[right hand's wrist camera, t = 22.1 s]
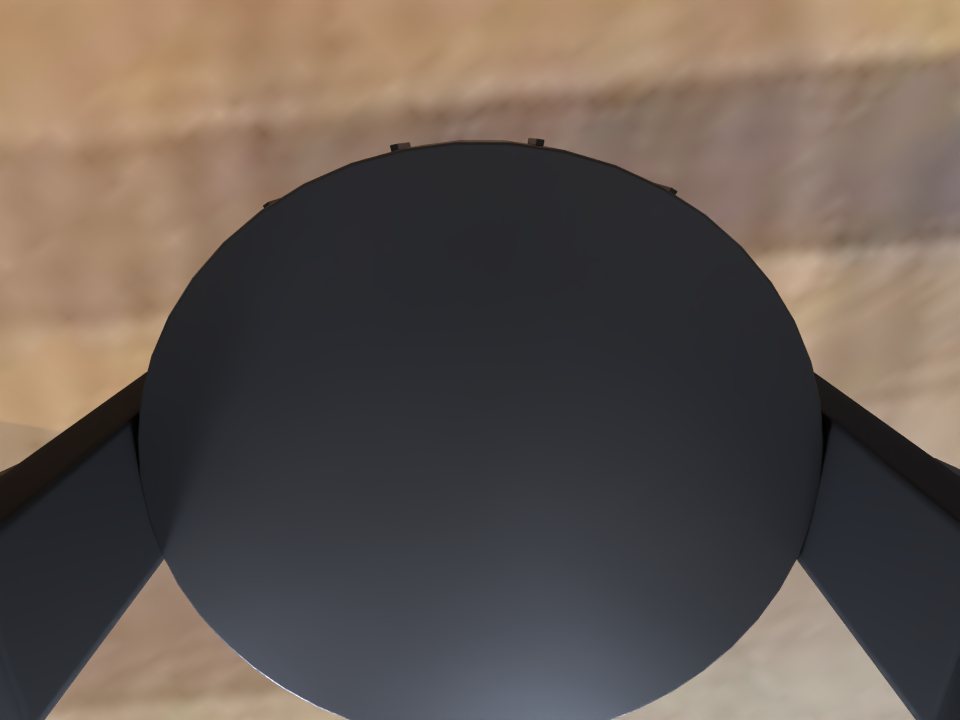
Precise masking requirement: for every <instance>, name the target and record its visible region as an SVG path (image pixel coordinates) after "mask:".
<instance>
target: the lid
mask: <svg viewBox="0 0 960 720" xmlns="http://www.w3.org/2000/svg"><path fill="white" fill-rule="evenodd" d="M543 145H544V140H542V139H534V138H528V144H525V143H519V142H512V141H505V140H458V141H451V142H443V143H435V144H428V145H420V146H414V147H411V146H410V143H409V142H408V143H400V144H394V145H390V148H391V152H389V153H386V154H382V155H378V156H375V157H371V158H367V159H364V160H360V161H357V162H353V163H350V164H348V165H346V166H343V167H341V168H339V169H336V170H334V171H332V172H330V173H327V174H325V175H323V176H320V177H318V178H316V179H314V180H311V181H309V182H307V183H304V184H303V185H301V186H299V187H298V188H296V189H295V190H293V191H291V192H290V193H288V194H287V195H285V196H283V197H282V198H279V199H276V200H273V201H270V202H267V203H266V204H265V205H263V207H264V209H262V210H261V211H260V212H258V213H257V214H256V215H255V216H254V217H253V218H251V219H250V220H249V221H248V222H247V223H246V224H244V225H243V226H242V227H241V228H240V229H238V230H237V231H236V232H235V233H234V234H233V235H231V236H230V237H229V238H228V239H227V240H226V241H224V242H223V243H222V245H221V246H220V247H219V248H218V249H217V250H216V251H215V253H214V254H213V255H212V256H211V257H210V258H209V260H208V261H207V262H206V263H205V264H204V265H203V266H202V268H201V269H200V270H199V271H198V272H197V273H196V275H195V276H194V277H193V278H192V280H191V281H190V283H189V284H188V286H187V288H186V289H185V291H184V292H183V294H182V296H181V297H180V299H179V300H178V302H177V304H176V305H175V307H174V308H173V310H172V311H171V313H170V315H169V316H168V319H167V321H166V323H165V326H164V328H163V330H162V333H161V335H160V337H159V340H158V342H157V344H156V347H155V349H154V351H153V354H152V356H151V360H150V364H149V368H148V372H147V376H146V380H145V384H144V388H143V392H142V396H141V403H140V414H139V425H138V435H137V443H138V459H139V476H140V481H141V485H142V490H143V494H144V499H145V504H146V508H147V513H148V517H149V521H150V524H151V526H152V529H153V532H154V535H155V537H156V540H157V543H158V546H159V548H160V551H161V553H162V555H163V557H164V559H165V561H166V563H167V564H168V566H169V568H170V570H171V572H172V574H173V576H174V578H175V580H176V581H177V583H178V585H179V587H180V588H181V589H182V591H183V592H184V594H185V595H186V596H187V598H188V599H189V601H190V602H191V604H192V605H193V606H194V608H195V609H196V611H197V612H198V613H199V615H200V616H201V617H202V618H203V619H204V620H205V622H206V623H207V624H208V625H209V626H210V627H211V628H212V629H213V630H214V631H215V633H216V634H217V635H218V636H219V637H220V638H221V639H222V640H223V641H224V642H225V643H226V644H227V645H228V646H229V647H230V648H231V649H232V650H234V651H235V652H236V653H237V654H238V655H239V656H241V657H242V658H243V659H244V660H245V661H246V662H247V663H249V664H250V665H251V666H252V667H253V668H255V669H256V670H258V671H259V672H260V673H262V674H263V675H265V676H266V677H268V678H269V679H271V680H272V681H274V682H275V683H276V684H278V685H279V686H281V687H282V688H284V689H285V690H287V691H289V692H291V693H293V694H295V695H297V696H298V697H300V698H302V699H304V700H306V701H308V702H310V703H311V704H313V705H315V706H317V707H319V708H322V709H324V710H327V711H329V712H331V713H334V714H336V715H339V716H341V717H344V718H346V719H348V720H612V719H615V718H617V717H620V716H622V715H625V714H627V713H630V712H632V711H635V710H637V709H640V708H642V707H644V706H646V705H647V704H649V703H651V702H653V701H655V700H657V699H659V698H661V697H663V696H665V695H667V694H669V693H670V692H672V691H674V690H675V689H677V688H678V687H680V686H681V685H683V684H684V683H686V682H687V681H689V680H690V679H692V678H693V677H695V676H696V675H698V674H699V673H701V672H702V671H704V670H705V669H706V668H707V667H709V666H710V665H711V664H712V663H713V662H715V661H716V660H717V659H718V658H719V657H721V656H722V655H723V654H724V653H725V652H726V651H728V650H729V649H730V648H731V647H732V646H733V645H734V644H735V643H736V642H737V641H738V640H739V639H740V638H741V637H742V636H743V635H744V634H745V633H746V631H747V630H748V629H749V628H750V627H751V626H752V625H753V624H754V623H755V622H756V621H757V620H758V618H759V617H760V616H761V614H762V613H763V612H764V610H765V609H766V608H767V606H768V605H769V603H770V602H771V601H772V599H773V598H774V597H775V595H776V594H777V593H778V591H779V590H780V588H781V586H782V585H783V583H784V581H785V579H786V577H787V576H788V574H789V572H790V570H791V568H792V566H793V565H794V563H795V561H796V559H797V557H798V555H799V553H800V550H801V547H802V545H803V542H804V540H805V537H806V535H807V532H808V529H809V527H810V524H811V520H812V516H813V512H814V507H815V503H816V498H817V494H818V489H819V485H820V480H821V471H822V459H823V446H824V441H823V427H822V413H821V402H820V398H819V393H818V389H817V385H816V380H815V376H814V372H813V367H812V363H811V360H810V357H809V355H808V352H807V350H806V348H805V345H804V343H803V340H802V338H801V335H800V333H799V330H798V328H797V325H796V323H795V321H794V319H793V317H792V316H791V314H790V312H789V311H788V309H787V307H786V306H785V304H784V302H783V301H782V299H781V297H780V296H779V294H778V292H777V291H776V289H775V287H774V286H773V284H772V282H771V281H770V280H769V279H768V278H767V276H766V275H765V274H764V273H763V272H762V270H761V269H760V268H759V267H758V266H757V264H756V263H755V262H754V261H753V260H752V258H751V257H750V256H749V255H748V254H747V252H746V251H745V250H744V249H743V248H742V247H741V246H740V245H739V244H738V243H737V242H736V241H735V240H734V239H732V238H731V237H730V236H729V235H728V234H727V233H726V232H725V231H723V230H722V229H721V228H720V227H719V226H718V225H717V224H715V223H714V222H713V221H712V220H711V219H710V218H709V217H708V216H706V215H705V214H704V213H702V212H701V211H699V210H698V209H696V208H695V207H693V206H691V205H690V204H688V203H687V202H685V201H684V200H682V199H681V198H679V197H678V196H676V193H677V191H676V190H674V189H673V188H670V187H667V186H663V185H660V184H656V183H653V182H651V181H649V180H647V179H644V178H642V177H640V176H638V175H636V174H634V173H631V172H629V171H627V170H625V169H623V168H621V167H618V166H616V165H613V164H610V163H606V162H603V161H600V160H596V159H593V158H589V157H586V156H583V155H579V154H576V153H573V152H569V151H566V150H561V149H556V148H551V147H545V146H543Z"/></svg>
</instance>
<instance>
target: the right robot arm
mask: <svg viewBox="0 0 960 720" xmlns="http://www.w3.org/2000/svg"><path fill="white" fill-rule="evenodd" d="M146 376H147V372H146V373H145V374H143V375H142V376H141V377H139V378H138V379H136V380H135V381H134V382H132V383H131V384H129V385H128V386H127V387H125V388H124V389H122V390H121V391H120V392H118V393H117V394H115V395H114V396H113V397H111V398H110V399H108V400H107V401H106V402H104V403H103V404H101V405H100V406H99V407H97V408H96V409H94V410H93V411H92V412H90V413H89V414H88V415H86V416H85V417H83V418H82V419H81V420H79V421H78V422H76V423H75V424H74V425H72V426H71V427H69V428H68V429H67V430H65V431H64V432H62V433H61V434H60V435H58V436H57V437H55V438H54V439H53V440H51V441H50V442H48V443H47V444H46V445H44V446H43V447H41V448H40V449H39V450H37V451H36V452H34V453H33V454H32V455H30V456H29V457H27V458H26V459H25V460H23V461H22V462H20V463H19V464H17V465H15V466H13V467H10V468H8V469H6V470H4V471H2V472H0V720H45V718H46V717H47V716H48V714H49V713H50V712H51V710H52V709H53V708H54V706H55V705H56V704H57V702H58V701H59V700H60V698H61V697H62V696H63V694H64V693H65V692H66V690H67V689H68V688H69V686H70V685H71V683H72V682H73V681H74V679H75V678H76V677H77V675H78V674H79V673H80V671H81V670H82V669H83V667H84V666H85V665H86V663H87V662H88V661H89V659H90V658H91V657H92V655H93V654H94V653H95V651H96V650H97V648H98V647H99V646H100V644H101V643H102V642H103V640H104V639H105V638H106V636H107V635H108V634H109V632H110V631H111V630H112V628H113V627H114V626H115V624H116V623H117V622H118V620H119V619H120V618H121V616H122V615H123V613H124V612H125V611H126V609H127V608H128V607H129V605H130V604H131V603H132V601H133V600H134V599H135V597H136V596H137V595H138V593H139V592H140V591H141V589H142V588H143V587H144V585H145V584H146V582H147V581H148V580H149V578H150V577H151V576H152V574H153V573H154V572H155V570H156V569H157V568H158V566H159V565H160V564H161V562H162V561H163V560H164V557H163V555H162V553H161V551H160V548H159V546H158V543H157V540H156V537H155V535H154V532H153V529H152V526H151V524H150V521H149V517H148V513H147V508H146V504H145V499H144V494H143V490H142V485H141V481H140V476H139V459H138V443H137V435H138V425H139V414H140V403H141V396H142V392H143V388H144V384H145V380H146ZM814 376H815V380H816V385H817V389H818V393H819V398H820V402H821V413H822V427H823V441H824V446H823V459H822V471H821V480H820V485H819V489H818V494H817V498H816V503H815V507H814V512H813V516H812V520H811V524H810V527H809V529H808V532H807V535H806V537H805V540H804V542H803V545H802V547H801V550H800V553H799V555H798V557H797V560H798V562H799V563H800V564H801V566H802V567H803V568H804V570H805V571H806V573H807V574H808V575H809V577H810V578H811V579H812V581H813V582H814V583H815V585H816V586H817V587H818V589H819V590H820V591H821V593H822V594H823V595H824V597H825V598H826V599H827V601H828V602H829V603H830V605H831V606H832V608H833V609H834V610H835V612H836V613H837V614H838V616H839V617H840V618H841V620H842V621H843V622H844V624H845V625H846V626H847V628H848V629H849V630H850V632H851V633H852V634H853V636H854V637H855V638H856V640H857V641H858V643H859V644H860V645H861V647H862V648H863V649H864V651H865V652H866V653H867V655H868V656H869V657H870V659H871V660H872V661H873V663H874V664H875V665H876V667H877V668H878V669H879V671H880V672H881V673H882V675H883V676H884V678H885V679H886V680H887V682H888V683H889V684H890V686H891V687H892V688H893V690H894V691H895V692H896V694H897V695H898V696H899V698H900V699H901V700H902V702H903V703H904V704H905V706H906V707H907V708H908V710H909V711H910V713H911V714H912V715H913V717H914V718H915V719H916V720H960V469H958V468H956V467H954V466H951V465H949V464H947V463H945V462H942V461H940V460H938V459H936V458H933V457H932V456H930V455H929V454H927V453H926V452H925V451H923V450H922V449H920V448H919V447H918V446H916V445H915V444H913V443H912V442H911V441H909V440H908V439H906V438H905V437H904V436H902V435H901V434H899V433H898V432H897V431H895V430H894V429H893V428H891V427H890V426H888V425H887V424H886V423H884V422H883V421H881V420H880V419H879V418H877V417H876V416H874V415H873V414H872V413H870V412H869V411H867V410H866V409H865V408H863V407H862V406H860V405H859V404H858V403H856V402H855V401H853V400H852V399H851V398H849V397H848V396H846V395H845V394H844V393H842V392H841V391H839V390H838V389H837V388H835V387H834V386H832V385H831V384H830V383H828V382H827V381H825V380H824V379H823V378H821V377H820V376H818V375H817V374H816V373H814Z"/></svg>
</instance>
